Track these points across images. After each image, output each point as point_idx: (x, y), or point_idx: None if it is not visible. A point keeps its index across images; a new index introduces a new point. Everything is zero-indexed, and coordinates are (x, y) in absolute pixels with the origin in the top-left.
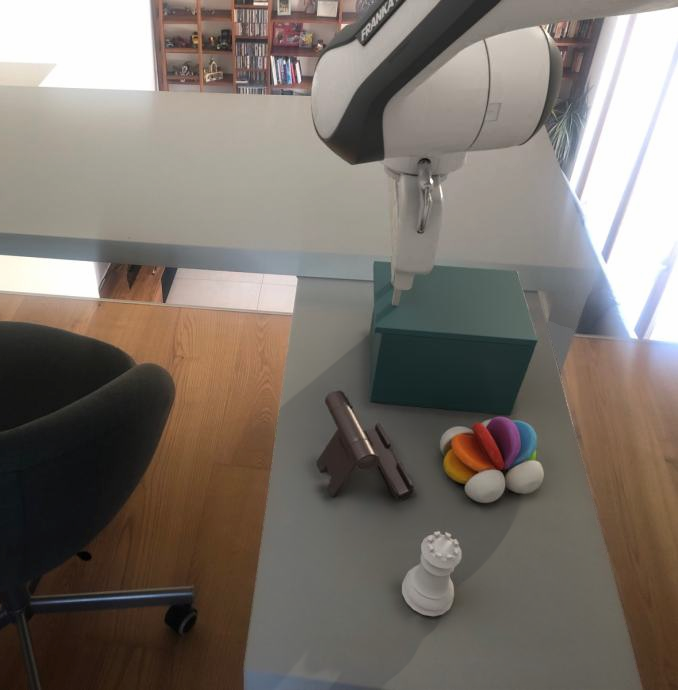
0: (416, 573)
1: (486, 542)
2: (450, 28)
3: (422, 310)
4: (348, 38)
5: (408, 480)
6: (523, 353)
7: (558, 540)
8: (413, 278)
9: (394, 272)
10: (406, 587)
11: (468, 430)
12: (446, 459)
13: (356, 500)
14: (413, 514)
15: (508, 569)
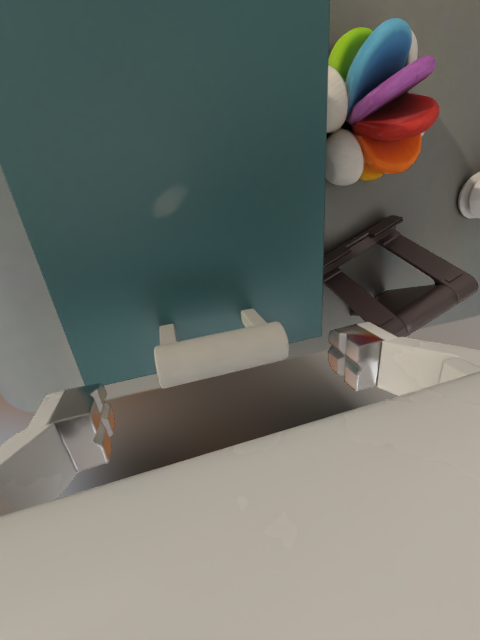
0: None
1: (432, 129)
2: None
3: (257, 256)
4: None
5: (397, 223)
6: None
7: (435, 28)
8: (390, 333)
9: (345, 380)
10: None
11: (355, 145)
12: (373, 177)
13: (386, 269)
14: (401, 211)
15: (459, 106)
